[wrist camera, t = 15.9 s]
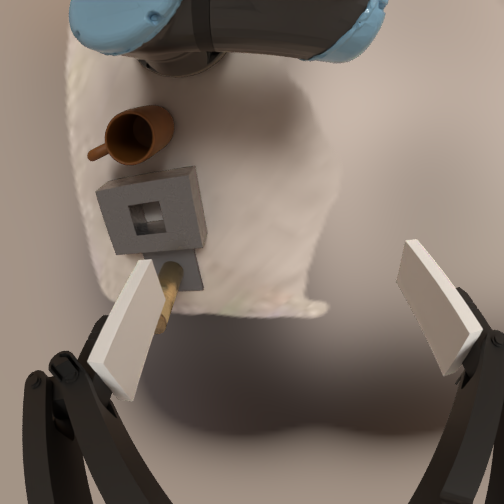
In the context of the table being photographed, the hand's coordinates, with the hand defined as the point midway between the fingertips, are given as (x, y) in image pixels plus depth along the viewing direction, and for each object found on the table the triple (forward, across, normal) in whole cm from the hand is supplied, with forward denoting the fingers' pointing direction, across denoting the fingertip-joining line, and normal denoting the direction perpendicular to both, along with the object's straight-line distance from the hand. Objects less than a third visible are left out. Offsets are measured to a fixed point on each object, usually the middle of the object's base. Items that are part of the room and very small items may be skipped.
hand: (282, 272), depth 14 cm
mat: (+32, -19, -21) cm, 43 cm away
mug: (+32, -19, +5) cm, 37 cm away
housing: (+32, -19, -8) cm, 38 cm away
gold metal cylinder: (+31, -19, -21) cm, 42 cm away
